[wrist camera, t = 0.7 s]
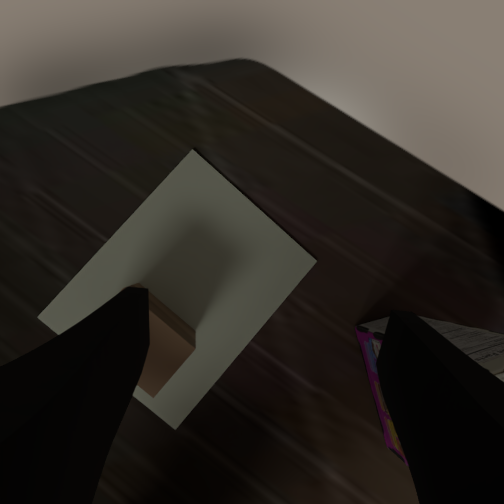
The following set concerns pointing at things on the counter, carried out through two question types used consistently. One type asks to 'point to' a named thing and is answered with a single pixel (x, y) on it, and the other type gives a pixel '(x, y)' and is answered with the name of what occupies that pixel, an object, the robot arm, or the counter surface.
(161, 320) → the walnut block
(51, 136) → the counter surface
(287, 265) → the cream board
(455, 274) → the counter surface
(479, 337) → the candy bar box
